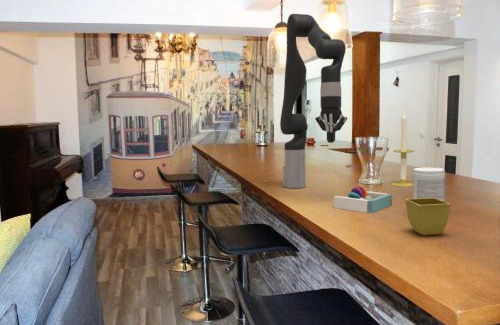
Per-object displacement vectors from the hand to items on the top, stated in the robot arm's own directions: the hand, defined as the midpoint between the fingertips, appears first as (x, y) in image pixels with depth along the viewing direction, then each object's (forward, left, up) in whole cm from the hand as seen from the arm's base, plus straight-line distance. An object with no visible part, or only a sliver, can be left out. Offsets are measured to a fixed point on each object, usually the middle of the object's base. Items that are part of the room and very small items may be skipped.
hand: (331, 142), depth 160 cm
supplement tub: (+35, +3, -23) cm, 42 cm away
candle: (+6, +49, -23) cm, 54 cm away
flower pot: (+43, -19, -23) cm, 52 cm away
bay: (+13, 0, -23) cm, 26 cm away
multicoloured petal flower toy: (+12, -1, -23) cm, 26 cm away
